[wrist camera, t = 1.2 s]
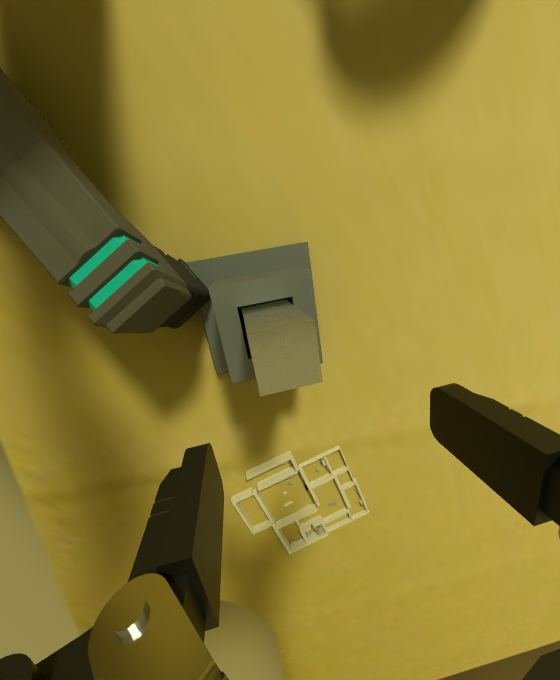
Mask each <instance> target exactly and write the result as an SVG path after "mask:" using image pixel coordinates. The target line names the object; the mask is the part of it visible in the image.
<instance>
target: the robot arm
mask: <svg viewBox="0 0 560 680" xmlns="http://www.w3.org/2000/svg"><path fill="white" fill-rule="evenodd" d="M430 427H431V431H432V433H433V435H434V437H435V438H436V440H437V441H438V442H439V443H440V444H441V445H443V446H444V447H445V448H446V449H447V450H448V451H449V452H451V453H452V454H453V455H454V456H455V457H456V458H457V459H458V460H460V461H461V462H462V463H463V464H464V465H465V466H466V467H468V468H469V469H470V470H471V471H472V472H473V473H474V474H475V475H477V476H478V477H479V478H480V479H481V480H482V481H483V482H485V483H486V484H487V485H488V486H489V487H490V488H491V489H493V490H494V491H495V492H496V493H497V494H498V495H499V496H500V497H502V498H503V499H504V500H505V501H506V502H507V503H508V504H510V505H511V506H512V507H513V508H514V509H515V510H516V511H517V512H519V513H520V514H521V515H522V516H523V517H524V518H525V519H527V520H528V521H529V522H530V523H531V524H532V525H533V526H536V525H539V524H542V523H545V522H548V521H551V520H553V521H554V522H555V523H556V524H558V525H559V530H558V535H559V538H560V435H559V434H558V433H556V432H554V431H552V430H550V429H548V428H546V427H544V426H543V425H541V424H539V423H537V422H535V421H533V420H531V419H529V418H527V417H523V416H522V414H520V413H518V412H516V411H514V410H512V409H511V410H510V409H509V407H507V406H505V405H503V404H501V403H499V402H497V401H496V400H494V399H491V398H488V397H485V396H482V395H478V394H475V393H473V392H471V391H469V390H468V389H466V388H464V387H462V386H460V385H458V384H455V383H452V384H448V385H444V386H440V387H436V388H433V389H432V390H431V393H430ZM223 510H224V491H223V484H222V479H221V476H220V472H219V469H218V466H217V462H216V459H215V456H214V452H213V449H212V446H211V444H210V443H208V444H204V445H200V446H196V447H192V448H188V449H186V451H185V454H184V458H183V462H182V466H181V467H179V468H175V469H171V471H170V472H169V473H168V475H167V476H166V477H165V479H164V480H163V481H162V483H161V484H160V486H159V489H158V492H157V495H156V498H155V504H154V505H153V508H152V511H151V514H150V515H151V517H150V518H149V520H148V523H147V526H146V529H145V532H144V535H143V538H142V541H141V544H140V547H139V550H138V553H137V556H136V559H135V562H134V565H133V568H132V571H131V574H130V577H129V580H128V582H127V583H126V584H125V585H124V586H123V587H121V588H120V589H119V590H118V591H117V592H116V593H115V594H114V595H113V596H112V597H111V598H110V600H109V601H108V602H107V603H106V605H105V606H104V608H103V609H102V611H101V612H100V614H99V616H98V617H97V619H96V621H95V623H94V626H93V627H92V628H91V629H89V630H88V631H86V632H85V633H84V634H82V635H81V636H79V637H78V638H76V639H75V640H73V641H71V642H70V643H68V644H67V645H65V646H64V647H62V648H61V649H59V650H58V651H56V652H55V653H53V654H51V655H50V656H48V657H47V658H45V659H44V660H42V661H41V662H39V663H38V664H36V665H35V664H34V663H33V662H32V660H31V659H30V658H29V657H28V656H27V655H24V654H13V655H9V656H6V657H4V658H2V659H0V680H229V679H228V678H227V677H226V675H225V674H224V673H223V672H221V671H220V669H219V668H218V666H217V665H216V663H215V662H214V660H213V658H212V657H211V655H210V653H209V652H208V650H207V648H206V646H205V645H204V635H205V631H207V630H210V629H213V628H216V627H219V607H220V583H221V559H222V534H223ZM522 680H560V649H558V650H555V651H553V652H550V653H547V654H545V655H542V656H541V657H540V658H539V659H538V660H537V662H536V663H535V664H534V666H533V667H532V668H531V669H530V670H529V672H528V673H527V674H526V675H525V677H524V678H523V679H522Z"/></svg>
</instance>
